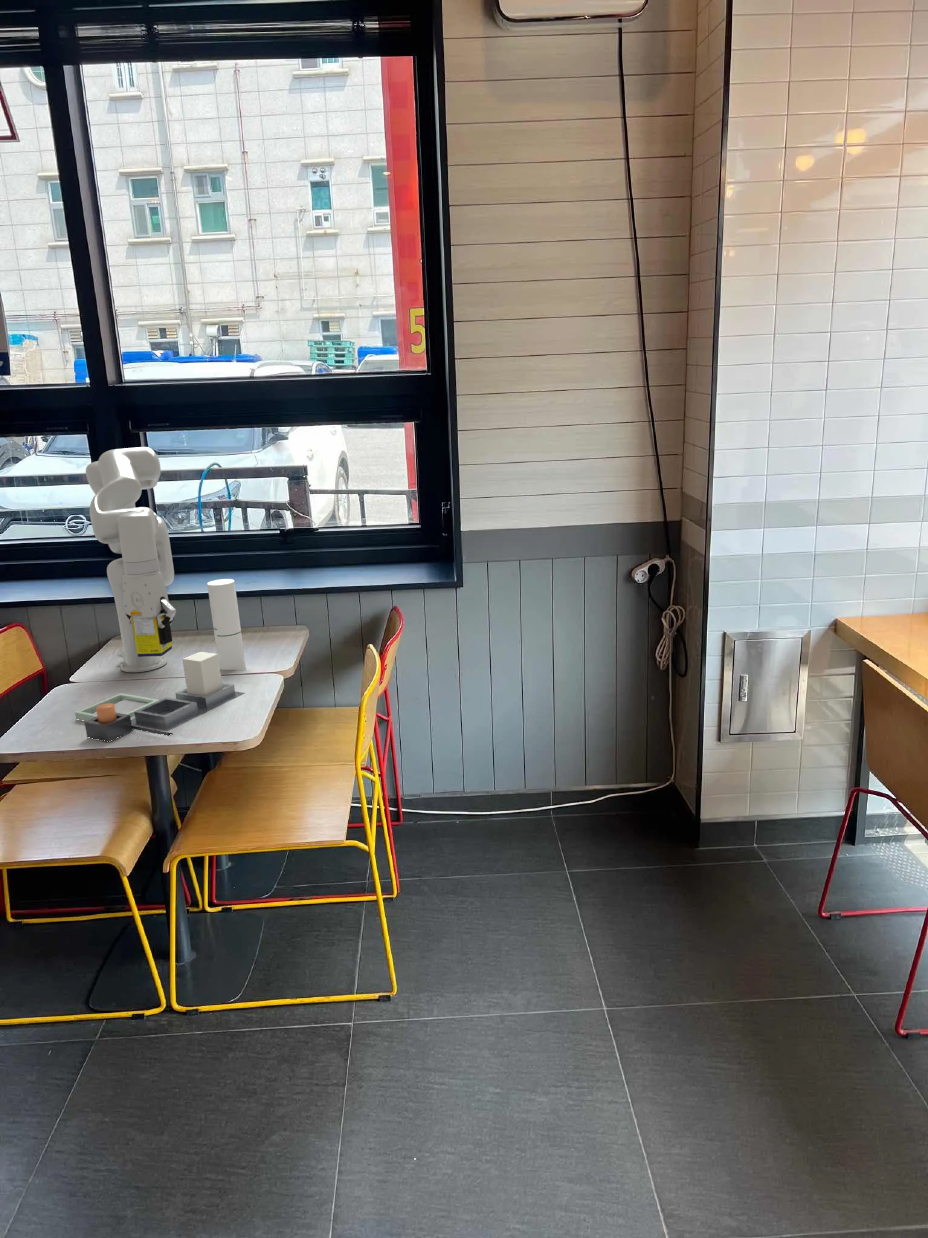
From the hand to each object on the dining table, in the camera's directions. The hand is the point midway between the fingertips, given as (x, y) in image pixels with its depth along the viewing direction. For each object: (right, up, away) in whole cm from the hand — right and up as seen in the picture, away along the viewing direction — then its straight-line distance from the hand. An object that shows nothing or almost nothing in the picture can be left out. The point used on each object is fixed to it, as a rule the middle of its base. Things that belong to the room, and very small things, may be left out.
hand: (153, 640), depth 208 cm
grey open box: (+5, -18, +11) cm, 21 cm away
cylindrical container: (+8, -9, +41) cm, 42 cm away
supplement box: (0, -3, +1) cm, 3 cm away
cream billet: (+8, -15, +16) cm, 23 cm away
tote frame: (-13, -18, +12) cm, 25 cm away
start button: (-10, -19, -2) cm, 21 cm away
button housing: (-10, -22, -1) cm, 24 cm away
